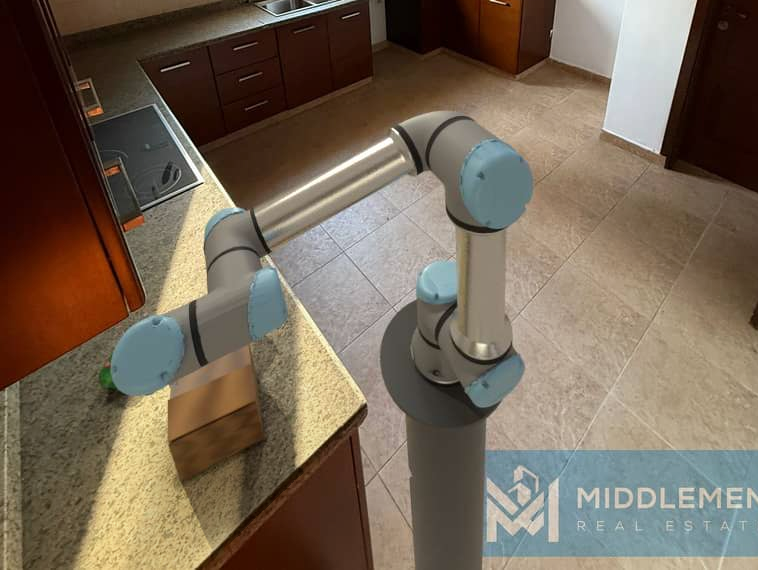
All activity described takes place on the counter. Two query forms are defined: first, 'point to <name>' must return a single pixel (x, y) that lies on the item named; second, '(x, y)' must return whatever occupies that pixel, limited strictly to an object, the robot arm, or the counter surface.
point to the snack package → (107, 374)
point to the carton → (217, 420)
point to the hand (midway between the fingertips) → (202, 341)
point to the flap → (210, 402)
